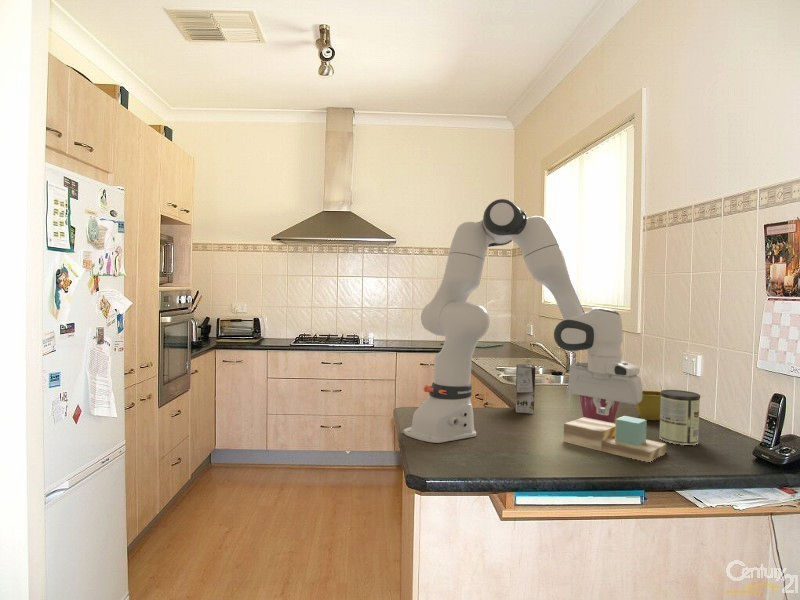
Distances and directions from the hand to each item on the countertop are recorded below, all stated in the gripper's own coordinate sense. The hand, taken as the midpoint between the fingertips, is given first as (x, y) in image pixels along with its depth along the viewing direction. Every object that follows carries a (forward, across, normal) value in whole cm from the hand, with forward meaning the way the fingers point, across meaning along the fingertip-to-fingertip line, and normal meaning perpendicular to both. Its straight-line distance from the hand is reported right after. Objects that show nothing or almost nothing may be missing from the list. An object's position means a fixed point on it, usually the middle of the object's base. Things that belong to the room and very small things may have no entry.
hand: (602, 414), depth 146 cm
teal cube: (+3, +5, 0) cm, 6 cm away
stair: (+8, +3, 0) cm, 9 cm away
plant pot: (+9, -12, +24) cm, 28 cm away
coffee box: (+9, -37, +19) cm, 42 cm away
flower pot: (+9, -3, +43) cm, 44 cm away
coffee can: (+9, +13, +22) cm, 27 cm away
